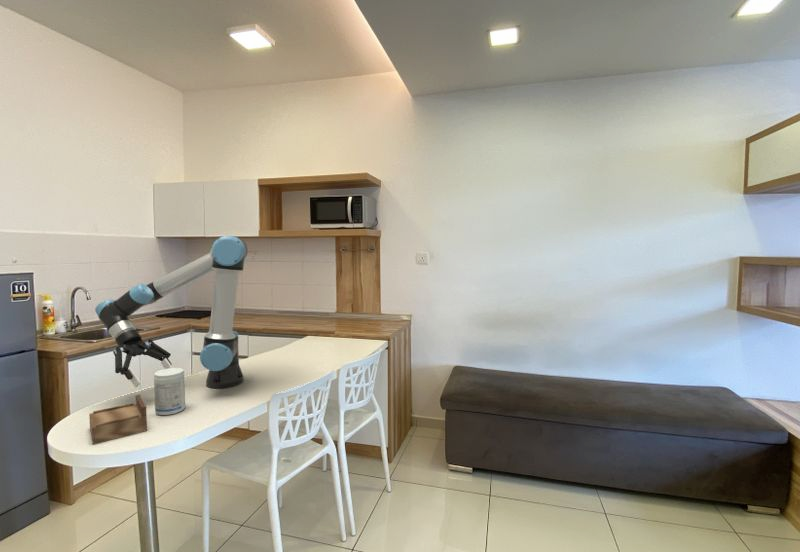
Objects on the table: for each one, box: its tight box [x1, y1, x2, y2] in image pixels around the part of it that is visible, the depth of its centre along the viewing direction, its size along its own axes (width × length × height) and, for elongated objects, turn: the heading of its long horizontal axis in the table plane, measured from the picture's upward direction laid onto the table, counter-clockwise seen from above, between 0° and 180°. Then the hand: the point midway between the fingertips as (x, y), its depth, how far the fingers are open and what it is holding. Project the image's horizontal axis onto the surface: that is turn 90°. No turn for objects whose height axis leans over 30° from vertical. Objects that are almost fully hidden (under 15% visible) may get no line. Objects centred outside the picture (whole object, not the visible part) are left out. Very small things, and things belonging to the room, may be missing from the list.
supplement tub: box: [153, 367, 186, 416], centre depth 144 cm, size 10×10×15 cm
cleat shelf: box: [88, 394, 148, 445], centre depth 129 cm, size 14×14×8 cm
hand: (156, 379), depth 144 cm, fingers open, 13 cm apart
